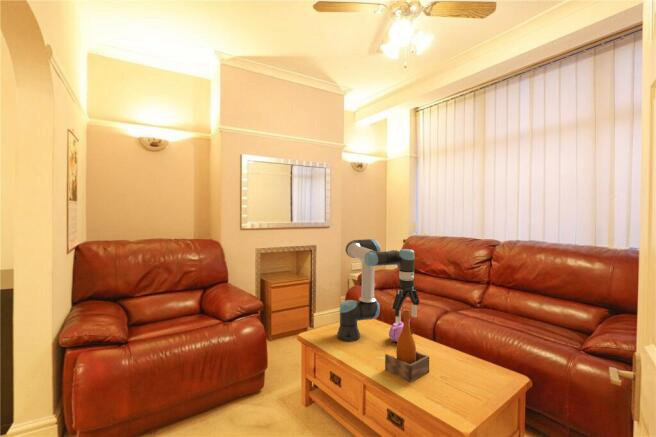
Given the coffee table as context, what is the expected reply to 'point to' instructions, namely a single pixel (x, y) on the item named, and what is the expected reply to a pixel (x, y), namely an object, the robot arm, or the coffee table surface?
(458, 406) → the coffee table surface
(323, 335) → the coffee table surface
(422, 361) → the wooden box
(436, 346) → the coffee table surface
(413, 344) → the wine bottle
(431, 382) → the coffee table surface
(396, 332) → the teapot
